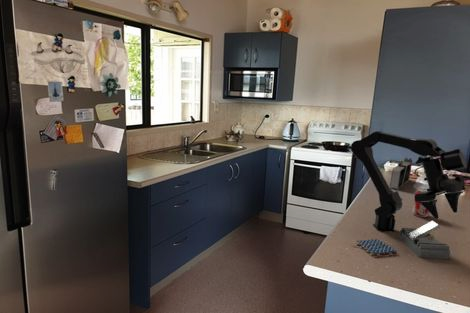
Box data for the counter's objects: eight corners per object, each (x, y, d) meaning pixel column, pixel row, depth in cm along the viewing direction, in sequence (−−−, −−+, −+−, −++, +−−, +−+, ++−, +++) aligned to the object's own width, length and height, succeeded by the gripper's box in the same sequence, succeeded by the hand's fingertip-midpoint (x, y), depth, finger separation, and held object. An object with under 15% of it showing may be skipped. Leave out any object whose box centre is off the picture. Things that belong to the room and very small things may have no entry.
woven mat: (373, 259, 117) (374, 253, 116) (354, 245, 127) (354, 240, 126) (399, 256, 120) (400, 251, 119) (378, 243, 130) (379, 238, 129)
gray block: (413, 241, 124) (411, 239, 124) (408, 237, 128) (406, 234, 128) (440, 227, 123) (438, 224, 123) (434, 223, 127) (432, 220, 126)
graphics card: (402, 178, 230) (405, 157, 227) (410, 180, 227) (413, 158, 224) (389, 189, 204) (392, 165, 201) (397, 190, 201) (401, 166, 198)
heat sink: (418, 257, 119) (420, 244, 118) (398, 237, 134) (400, 226, 134) (448, 259, 119) (451, 246, 118) (425, 238, 134) (427, 227, 133)
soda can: (411, 216, 159) (415, 190, 157) (412, 211, 165) (415, 187, 163) (429, 219, 156) (433, 193, 153) (429, 214, 162) (433, 189, 160)
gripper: (433, 176, 116) (447, 222, 115) (473, 165, 122) (486, 208, 121) (408, 179, 127) (420, 221, 125) (445, 169, 133) (457, 209, 131)
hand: (446, 215), depth 125 cm, fingers open, 9 cm apart
